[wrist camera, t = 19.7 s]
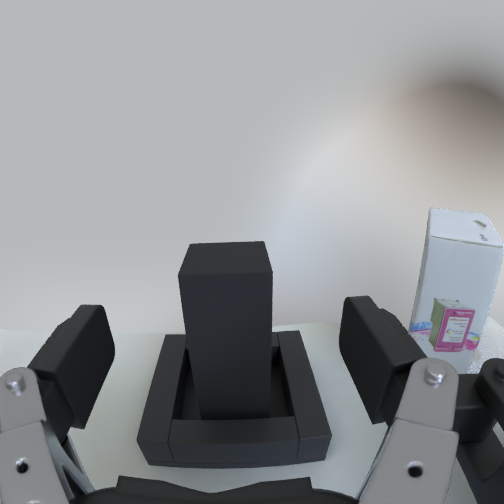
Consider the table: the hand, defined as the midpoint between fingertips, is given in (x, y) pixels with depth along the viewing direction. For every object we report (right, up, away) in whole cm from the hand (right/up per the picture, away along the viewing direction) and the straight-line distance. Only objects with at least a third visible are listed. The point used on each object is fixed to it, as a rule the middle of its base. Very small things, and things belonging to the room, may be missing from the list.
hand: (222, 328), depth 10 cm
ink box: (+15, -7, +11) cm, 20 cm away
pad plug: (0, -7, +9) cm, 11 cm away
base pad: (0, -8, +9) cm, 12 cm away
